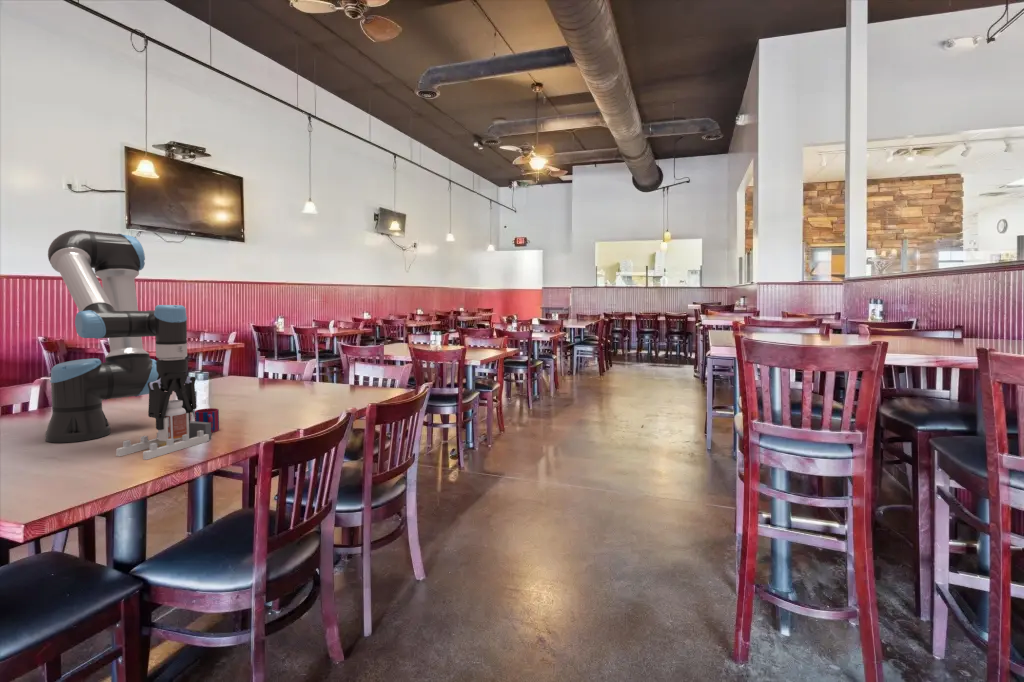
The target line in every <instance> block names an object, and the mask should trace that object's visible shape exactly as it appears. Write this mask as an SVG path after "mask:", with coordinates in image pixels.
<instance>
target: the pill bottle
mask: <svg viewBox="0 0 1024 682" xmlns="http://www.w3.org/2000/svg"><path fill="white" fill-rule="evenodd" d="M182 405H183V401H182V400H178V399H171V400H170V399H169V403H168V406H167V410H166V414H165V418H168V439H174V442H178V441H182V435H185V434H187V428H186V410H185V409H184V408H182Z"/></svg>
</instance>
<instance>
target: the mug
mask: <svg viewBox="0 0 1024 682" xmlns="http://www.w3.org/2000/svg"><path fill="white" fill-rule="evenodd" d="M194 421H196V422H207V423H211V434H212V433H215V432H218V431H219V430H220V411H219V408H216V407H215V408H214V407H212V408H211V407H210V408H200V409H195V410H194Z"/></svg>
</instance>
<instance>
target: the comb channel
mask: <svg viewBox="0 0 1024 682" xmlns="http://www.w3.org/2000/svg"><path fill="white" fill-rule="evenodd" d="M139 437H140V442H137V443H132V442H131V440H130V439H127V440H123V441H122V447H118V448H116V449H115V451H116V453H115V455H116V457H122V456H127V455H130V454H133V453H137V452H140V451H143V452H142V459H143V460H144V461H145V460H150V459H151V460H152V459H154V458H158V457H161V456H164V455H167V454H170V453H175V452H177V451H180V450H184V449H187V448H190V447H191V448H192V447H194V446H197V445H200V444H204V443H207V442H209V441H210V440H212V433H211V423H207V422H196V421H195V420H190V423H189V435H188V434H185V435H182V440H179V441H174V439H167V440H166V441H159V440H158V431H157V432H156V438H152V439H149V436H148V435H143V436H139Z"/></svg>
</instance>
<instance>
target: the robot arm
mask: <svg viewBox="0 0 1024 682" xmlns="http://www.w3.org/2000/svg"><path fill="white" fill-rule="evenodd" d="M145 255H146V254H145V251H144V248H143V245H142V243H141V242H140V240H138V239H137V237H135V236H134V235H129V234H128V235H127V234H122V233H113V232H102V231H101V232H100V231H90V230H84V229H77V230H70V231H65V232H63V233H62V234H60V235H57V237H56V238H55V239H53V240H52V242H51V243H50V245H49V248H48V251H47V258H48V261H49V263H50V265H51V268H52V269H53V270H54V271H56V272H58V273H59V275H60V276H61V278H62V280H63V282H64V284H65V285H66V288H67V290H68V292H69V294H70V296H71V298H72V299H73V302H74V304H75V305H76V308H77V310H78V312H77V313H76V315H75V318H74V326H75V330H76V331H75V332H76V333H77V335H78V336H79V337H80V338H82V339H96V340H99V339H108V343H109V353H107V355H106V356H105V357H104V359H105V362H102V361H101V359H100V358H82V359H75V360H69V361H64V362H60V363H57V364H55V365H54V366H53V367H51V371H50V380H49V382H50V386H51V388H50V389H51V410H52V411H51V412H52V413H51V417H50V420H49V423H48V426H47V427H46V431H45V441H46V442H47V443H62V444H63V443H75V442H83V441H90V440H95V439H100V438H102V437H105V436H108V435H109V434H111V425H110V423H109V421H108V419H107V417H106V414H105V412H104V410H103V400H112V399H120V398H121V399H122V398H129V397H139V396H145V395H148V412H147V413H148V417H149V418H153V419H155V430H157V432H158V440H159V441H166V440H167V439H168V418H165V414H166V410H167V406H168V403H169V401H170V398H171V395H173V392H174V393H175V395H176V398H177V399H176V400H182V401H183V405H182V408H184V409H185V410H186V428H187V434H188V435H189V423H190V421H191V413H193V412H194V410H197V398H196V385H195V383H196V379H197V378H196V376H188V375H187V371H188V370H189V369H188V367H189V366H188V363H189V362H188V359H187V357H188V338H187V335H188V333H187V332H188V328H187V327H188V326H187V323H188V317H187V308H186V307H185V306H184V305H181V304H180V305H179V304H157V305H155V307H154V310H139V306H138V298H137V290H136V283H135V279H136V278H137V277H138V276H139V275H140V271H142V270H143V269H144V268H145V263H146V262H145V261H146V256H145ZM98 278H99V279H100V280H101V282H100V281H99V279H98ZM143 337H145V338H146V337H155V357H156V358H157V360H155V359H153V358H150V357H151V356H150V353H149V352H148V351H146V350H145V349H144V348H143V345H144V344H143Z"/></svg>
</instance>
